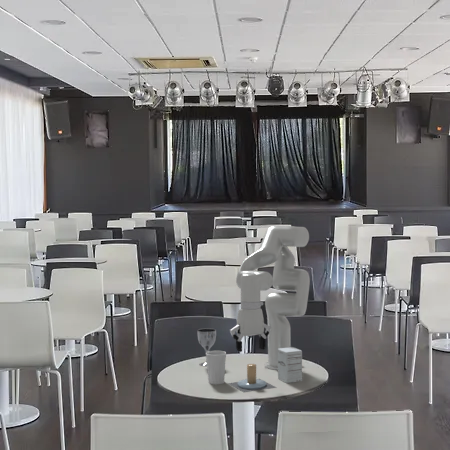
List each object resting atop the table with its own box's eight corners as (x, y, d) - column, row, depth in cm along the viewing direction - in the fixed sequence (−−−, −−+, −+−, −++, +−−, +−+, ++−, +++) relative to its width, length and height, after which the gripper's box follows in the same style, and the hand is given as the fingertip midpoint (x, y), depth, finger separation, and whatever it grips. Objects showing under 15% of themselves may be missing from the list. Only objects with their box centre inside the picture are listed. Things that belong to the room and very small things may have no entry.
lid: (257, 380, 308) (257, 360, 308) (271, 386, 298) (271, 366, 298) (232, 383, 303) (232, 363, 303) (245, 390, 293) (245, 369, 293)
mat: (259, 379, 310) (259, 378, 310) (276, 388, 297) (276, 387, 297) (227, 384, 304) (227, 383, 304) (243, 393, 291) (243, 392, 291)
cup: (224, 386, 302) (223, 355, 301) (204, 385, 303) (203, 354, 303) (228, 380, 310) (227, 350, 309) (208, 379, 311) (208, 350, 310)
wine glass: (205, 361, 342) (205, 327, 341) (220, 363, 337) (219, 329, 336) (194, 364, 336) (193, 330, 335) (209, 367, 331) (208, 332, 330)
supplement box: (277, 379, 310) (277, 348, 309) (293, 377, 313) (293, 346, 312) (286, 384, 303) (285, 352, 302) (302, 381, 306) (302, 350, 305)
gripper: (265, 302, 306) (265, 346, 306) (226, 305, 298) (226, 350, 299) (275, 305, 299) (275, 349, 299) (234, 308, 291) (234, 353, 292)
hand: (250, 349), depth 299 cm, fingers open, 9 cm apart
